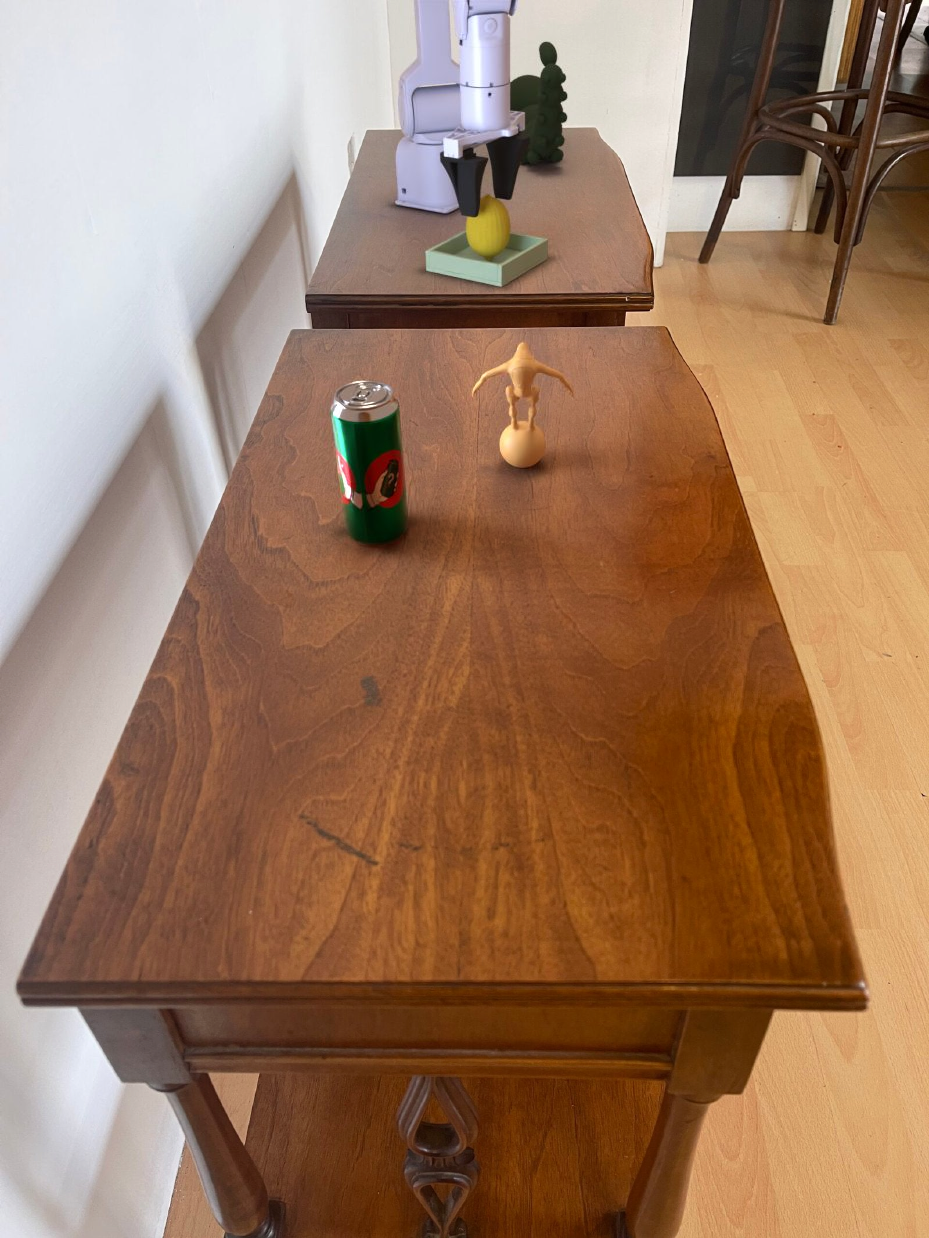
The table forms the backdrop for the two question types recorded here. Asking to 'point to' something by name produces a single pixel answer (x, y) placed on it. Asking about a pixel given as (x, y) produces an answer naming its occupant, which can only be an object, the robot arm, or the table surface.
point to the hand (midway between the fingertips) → (486, 207)
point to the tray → (502, 269)
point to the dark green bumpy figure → (541, 108)
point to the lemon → (489, 228)
